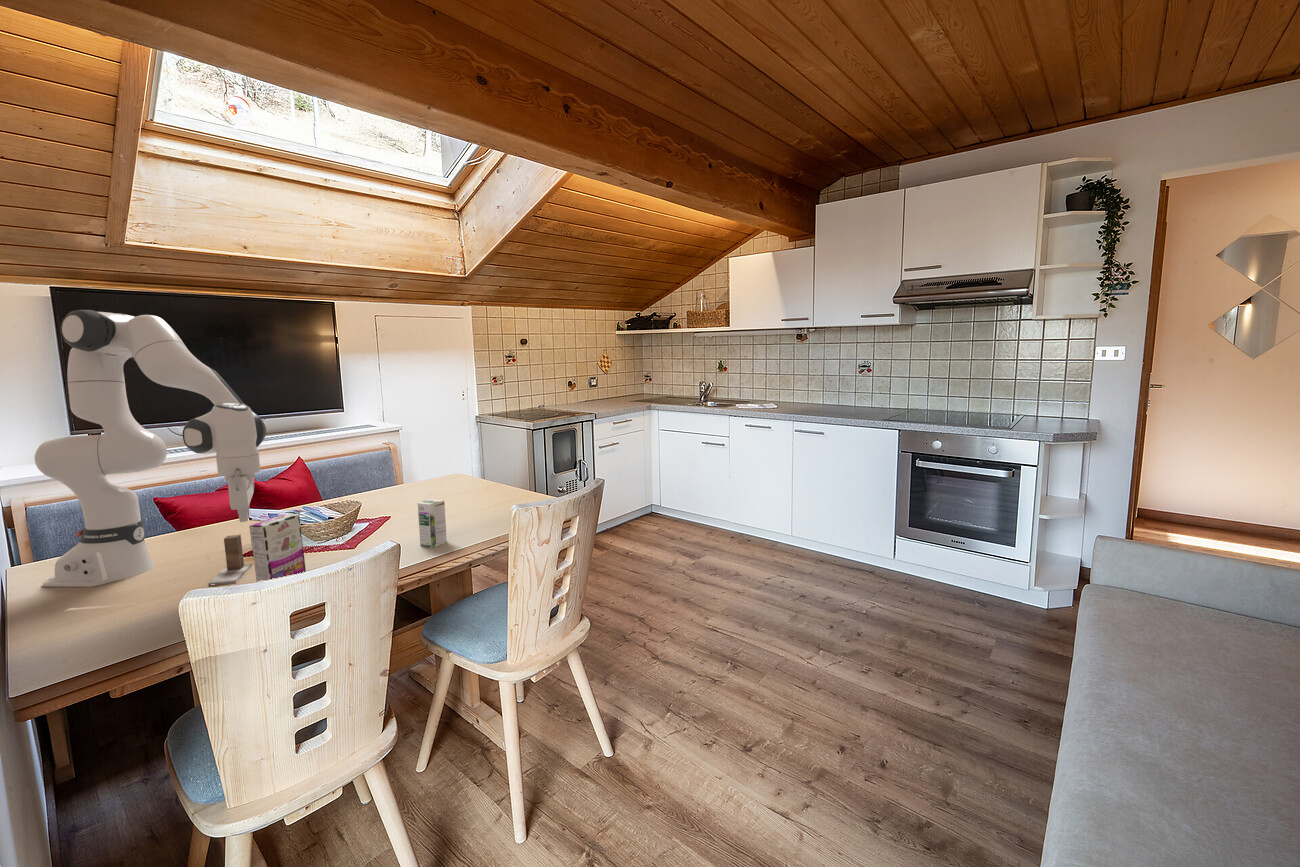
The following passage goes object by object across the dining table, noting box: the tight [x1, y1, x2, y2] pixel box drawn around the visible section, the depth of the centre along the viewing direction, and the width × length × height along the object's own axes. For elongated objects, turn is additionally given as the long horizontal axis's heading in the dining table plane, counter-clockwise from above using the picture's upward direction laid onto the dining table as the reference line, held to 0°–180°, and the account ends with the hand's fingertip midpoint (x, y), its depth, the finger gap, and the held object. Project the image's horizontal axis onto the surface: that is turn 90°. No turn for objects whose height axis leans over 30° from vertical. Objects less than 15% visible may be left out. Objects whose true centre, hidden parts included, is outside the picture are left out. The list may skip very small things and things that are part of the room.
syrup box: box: [417, 498, 448, 549], centre depth 171 cm, size 6×6×14 cm
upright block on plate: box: [207, 534, 253, 588], centre depth 151 cm, size 14×6×10 cm, turn 21°
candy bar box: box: [248, 513, 307, 582], centre depth 147 cm, size 11×5×16 cm, turn 168°
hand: (244, 519), depth 145 cm, fingers open, 3 cm apart
